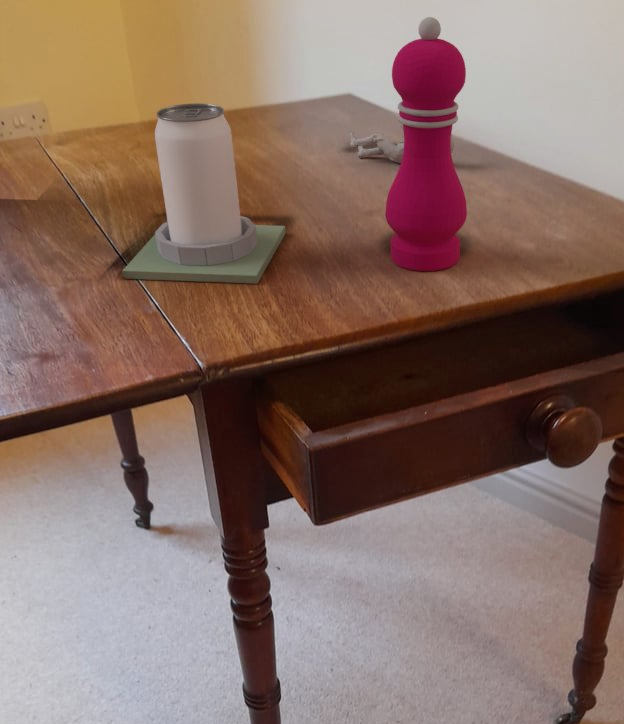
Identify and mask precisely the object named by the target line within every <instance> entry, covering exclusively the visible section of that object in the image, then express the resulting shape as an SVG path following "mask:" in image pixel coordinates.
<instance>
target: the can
mask: <svg viewBox="0 0 624 724" xmlns="http://www.w3.org/2000/svg"><path fill="white" fill-rule="evenodd" d="M224 113H225V109H224V108H223V107H222V106H220V105H217V104H211V103H182V104H174V105H171V106H165V107H162V108H161V109H159V110H157V112H156V117H157V122H156V125H155V129H154V139H155V147H156V154H157V160H158V167H159V175H160V181H161V187H162V188H161V189H162V193H163V200H164V206H165V207H164V208H165V213H166V221H168V227H169V233H170V239H171V241H172V242H176V243H179V244H182V245H210V244H216V243H223V242H228V241H230V240H233V239H235V238H237V237H240V236H242V229H241V219H240V216H241V211H240V209H241V208H240V200H239V191H238V181H237V171H236V163H235V153H234V145H233V144H234V143H233V136H232V130H231V126H230V124H229V122H228V120H227V119H226V117H225V115H224Z"/></svg>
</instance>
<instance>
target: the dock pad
mask: <svg viewBox="0 0 624 724" xmlns="http://www.w3.org/2000/svg"><path fill="white" fill-rule="evenodd" d="M240 219H241V229H242V236H240V237H237V238H235V239H233V240H230V241H228V242H223V243H216V244H210V245H182V244H179V243H176V242H172V241H171V239H170V233H169V227H168V220H166V221H164V222H163V223H162V224H161V225H160V226H159V227H157V229H156V230H155V232H154V234H153V236H152V237H150V239H149V240H148V241H147V242H146V243H145V244H144V245H143V247H142V248H141V249H140V250H139V251H138V252H137V253H136V254H135V256H134V257H133V258H132V259H131V260H130V261H129V262H128V264H127V265H125V267H124V268H123V269H122V277H123V279H124V280H146V281H147V280H149V281H171V282H173V281H175V282H198V283H199V282H201V283H223V284H224V283H225V284H227V283H228V284H229V283H230V284H249V285H250V284H251V285H253V284H254V285H256V284H258V283H259V281H260V280H261V278H262V276H263V274H264V273H265V271H266V269H267V267H268V265H269V264H270V262H271V260H272V259H273V256H274V255H275V253H276V252H277V249H278V247H279V245H280V244H281V243H282V241H283V239H284V237H285V235H286V226H285V225H273V224H271V225H266V224H255V223H254V222H252V220H251V219H250V218H249V217H247V216H243V215H240Z"/></svg>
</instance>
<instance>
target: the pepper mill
mask: <svg viewBox="0 0 624 724" xmlns="http://www.w3.org/2000/svg"><path fill="white" fill-rule="evenodd" d="M441 32H442V27H441V23H440V22H439V20H438V19H437V18H435V17H432V16H427V17H425V18H423V19H422V20H420V22H419V25H418V35H419V37H420V38H418V39H414V40H411V41H409V42H408V43H406V44H405V45H403V46H402V47H401V49H400V50H398V52H397V54H396V55H395V56H394V57H395V58H394V60H393V63H392V67H391V80H392V86H393V88H394V89H395V91H396V93H397V94H398V95H399V96H400V98H401V101H400V102H399V103H398V105H397V110H398V114H399V116H398V119H397V121H398V122H399V123H402V124H403V129H402V131H403V141H404V152H403V157H402V161H401V163H400V165H399V168H398V170H397V173H396V175H395V177H394V180H393V182H392V184H391V186H390V188H389V191H388V194H387V197H386V201H385V211H384V212H385V213H384V216H385V220H386V222H387V225H388V227H390V229H391V230H392V231H393V232H394V233H395V235H393V236H392V237H391V239H390V259H391V261H392V262H393V264H395V265H397V266H398V267H400V268H403V269H405V270H409V271H415V272H416V271H417V272H434V271H436V272H437V271H442V270H446V269H448V268H451V267H453V266H455V265H456V264H457V263H458V261H459V260H460V254H461V253H460V252H461V240H460V238H459V237H458V236H457V235H456V234H457V233H458V232H459V231H460V230H461V229H462V227H463V226H464V225H465V223H466V220H467V217H468V211H467V209H468V208H467V199H466V196H465V195H466V194H465V191H464V188H463V186H462V183H461V181H460V178H459V176H458V174H457V171H456V168H455V165H454V162H453V161H454V160H453V155H452V153H451V135H452V131H453V125H454V124H456V123H457V122H458V120H459V116H458V112H457V111H458V110H459V105H458V104H459V103H458V102H456V101H455V100H456V98H457V96H458V95H459V93H460V92H461V91H462V90H463V88H464V86H465V83H466V77H467V71H466V64H465V59H464V56H463V54H462V53H461V51H460V50H459V48H458V47H457V46H455V45H454V44H453V43H451V42H450V41H448V40H445V39H441V38H439V37H440V35H441Z"/></svg>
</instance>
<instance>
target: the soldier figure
mask: <svg viewBox="0 0 624 724" xmlns="http://www.w3.org/2000/svg"><path fill="white" fill-rule="evenodd" d="M398 116H399V112H394V113H393V114H392V117H395V118H396V120H398ZM399 123H400V122H399ZM399 127H400V128H401V129H402V130H403V124H402V123H400V124H399ZM349 140H350V143H349V147H350V149H355V148H357V149H358V152H357V156H358V158H359V159H360V158H363V157H366V156H382V155H384V156H386V157H387V158H388V159H389V160H390V161H392V162H393V163H394V162H395V163H397V164H401V161H402V157H403V152H404V140H401V141H398V142H397V145H396V144H394V142H393V141H392V140H390V139H389V138H387V137H386V136H384V134H380V133H373V134H372V135H369V136H366V137H361V138H356V136H355V132H353V131H350V133H349ZM454 144H455V143H454V138H453V135H452V134H451V154H453V151H454V147H455V145H454ZM373 145H374V146H376V147H373V148H364V147H367V146H373Z"/></svg>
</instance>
